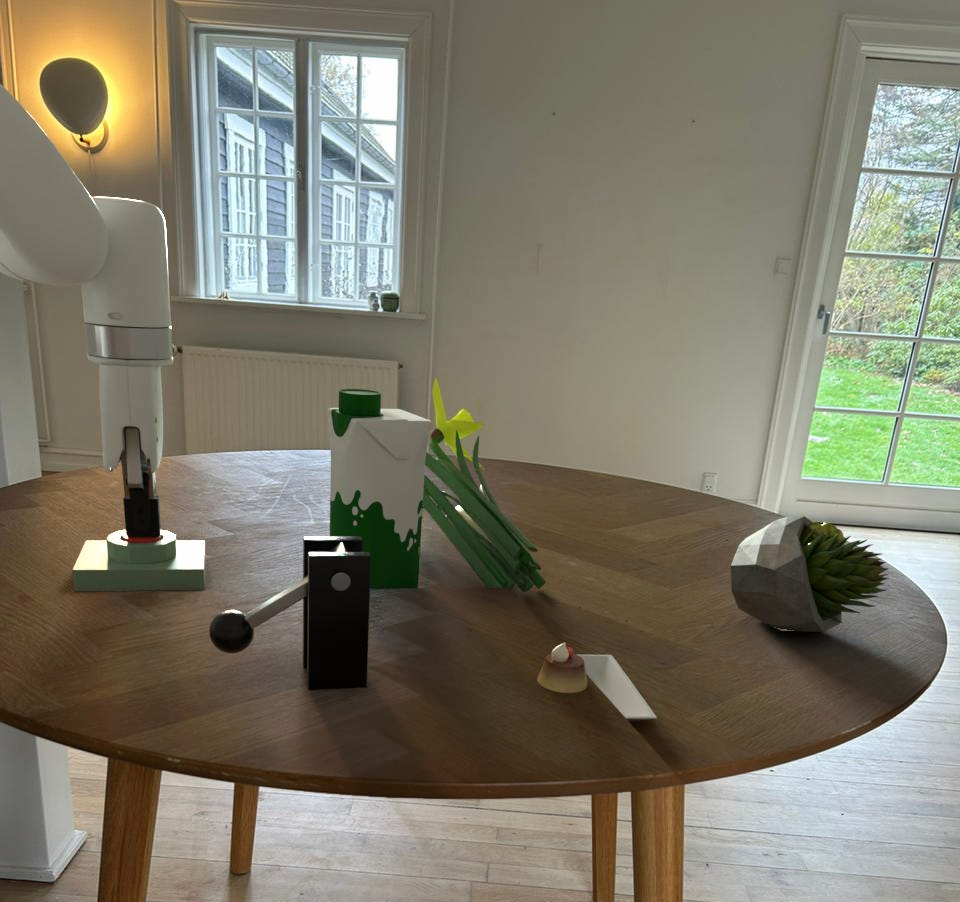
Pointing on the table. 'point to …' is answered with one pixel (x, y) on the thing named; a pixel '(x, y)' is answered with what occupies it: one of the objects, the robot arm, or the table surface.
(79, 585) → the control block
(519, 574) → the daffodil flowers
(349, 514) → the milk carton
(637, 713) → the dessert
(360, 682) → the bracket
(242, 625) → the lever
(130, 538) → the button
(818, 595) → the potted plant
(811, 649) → the table surface
